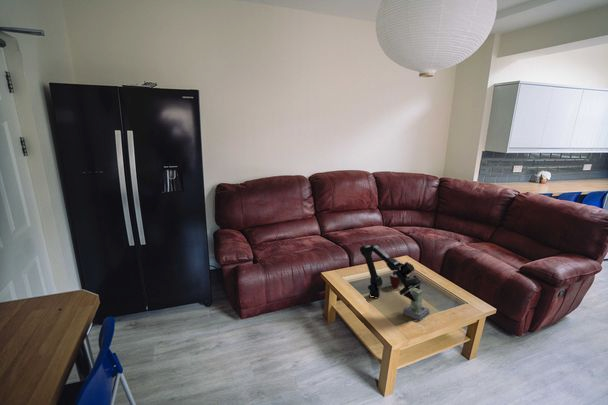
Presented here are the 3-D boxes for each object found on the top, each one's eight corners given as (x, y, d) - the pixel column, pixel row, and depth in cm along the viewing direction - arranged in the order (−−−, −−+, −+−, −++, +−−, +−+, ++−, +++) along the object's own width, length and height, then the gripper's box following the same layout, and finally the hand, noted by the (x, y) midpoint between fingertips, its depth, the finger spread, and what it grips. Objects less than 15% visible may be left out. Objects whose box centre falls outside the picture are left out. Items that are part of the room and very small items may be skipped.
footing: (403, 313, 191) (403, 308, 191) (412, 307, 199) (412, 302, 198) (420, 321, 182) (420, 315, 182) (429, 313, 190) (429, 308, 189)
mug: (403, 285, 231) (404, 273, 229) (403, 289, 224) (404, 277, 222) (390, 283, 235) (390, 272, 233) (389, 288, 227) (389, 276, 225)
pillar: (410, 310, 191) (411, 290, 188) (414, 307, 194) (415, 287, 192) (417, 313, 187) (418, 292, 185) (421, 310, 190) (422, 290, 188)
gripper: (403, 276, 183) (419, 298, 177) (418, 268, 195) (434, 288, 189) (392, 284, 190) (407, 306, 184) (407, 275, 202) (422, 295, 196)
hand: (418, 298), depth 188 cm, fingers open, 9 cm apart
